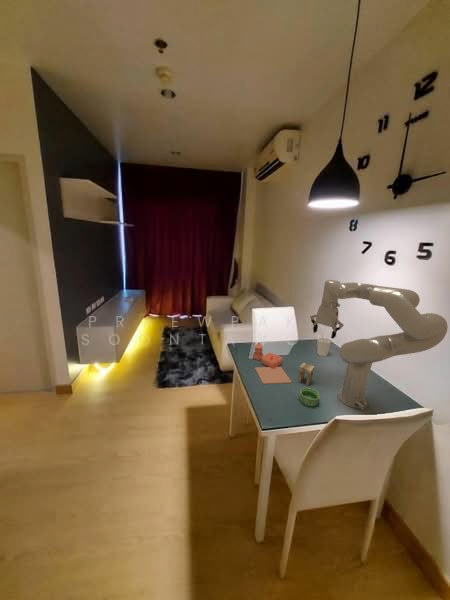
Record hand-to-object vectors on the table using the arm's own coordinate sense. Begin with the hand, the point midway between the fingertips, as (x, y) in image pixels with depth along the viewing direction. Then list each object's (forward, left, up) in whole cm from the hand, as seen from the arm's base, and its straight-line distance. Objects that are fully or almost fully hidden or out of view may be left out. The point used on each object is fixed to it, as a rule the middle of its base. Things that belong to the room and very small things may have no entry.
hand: (323, 334), depth 132 cm
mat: (+4, +24, -26) cm, 36 cm away
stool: (-3, +8, -26) cm, 27 cm away
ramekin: (-19, +14, -26) cm, 35 cm away
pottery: (+20, +23, -26) cm, 40 cm away
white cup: (+28, -20, -26) cm, 43 cm away
